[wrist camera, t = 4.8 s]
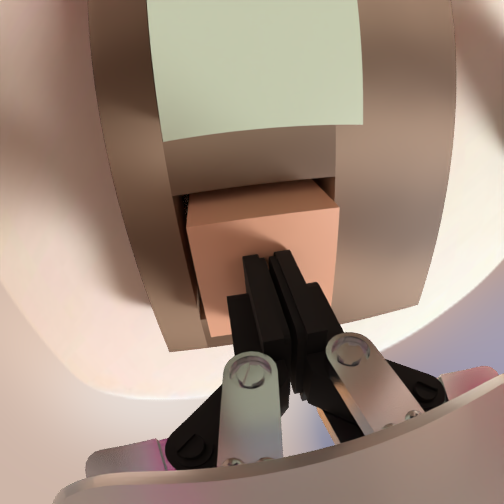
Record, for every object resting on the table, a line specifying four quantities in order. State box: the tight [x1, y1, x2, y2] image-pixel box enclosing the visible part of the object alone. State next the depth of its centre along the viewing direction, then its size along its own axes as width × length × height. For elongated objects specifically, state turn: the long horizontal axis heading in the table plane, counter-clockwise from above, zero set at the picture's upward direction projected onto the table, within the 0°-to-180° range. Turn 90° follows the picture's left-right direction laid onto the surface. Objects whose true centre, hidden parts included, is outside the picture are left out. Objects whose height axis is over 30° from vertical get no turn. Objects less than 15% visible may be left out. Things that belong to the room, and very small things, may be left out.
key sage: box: [147, 0, 363, 142], centre depth 7 cm, size 5×5×4 cm
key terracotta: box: [186, 179, 340, 337], centre depth 13 cm, size 5×5×4 cm
